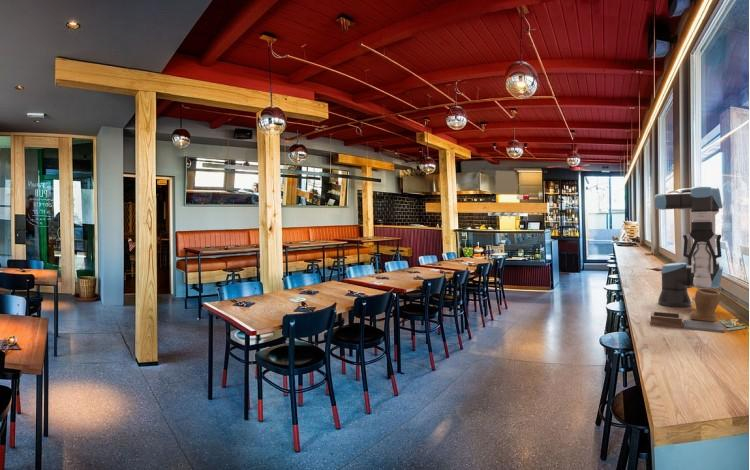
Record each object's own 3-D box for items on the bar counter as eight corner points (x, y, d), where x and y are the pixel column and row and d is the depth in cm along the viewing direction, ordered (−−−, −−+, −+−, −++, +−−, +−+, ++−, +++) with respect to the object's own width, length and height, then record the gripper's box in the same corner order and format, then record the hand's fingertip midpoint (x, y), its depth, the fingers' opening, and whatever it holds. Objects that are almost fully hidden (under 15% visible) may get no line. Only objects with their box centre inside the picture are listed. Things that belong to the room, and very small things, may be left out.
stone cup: (719, 324, 191) (719, 292, 191) (687, 321, 200) (687, 289, 199) (722, 318, 202) (722, 287, 202) (691, 315, 211) (691, 285, 210)
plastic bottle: (715, 289, 185) (715, 243, 184) (699, 289, 185) (699, 244, 184) (704, 286, 191) (704, 242, 191) (689, 287, 192) (689, 243, 191)
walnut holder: (651, 319, 205) (651, 311, 205) (681, 322, 198) (681, 313, 198) (650, 324, 195) (650, 316, 195) (682, 327, 188) (682, 318, 188)
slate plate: (683, 321, 199) (683, 319, 199) (721, 325, 190) (721, 323, 190) (683, 328, 187) (683, 326, 187) (724, 332, 179) (724, 330, 179)
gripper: (675, 222, 190) (675, 272, 191) (730, 220, 179) (730, 274, 179) (675, 221, 196) (675, 270, 197) (728, 220, 185) (728, 272, 185)
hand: (702, 272), depth 188 cm, fingers closed on plastic bottle, 6 cm apart
